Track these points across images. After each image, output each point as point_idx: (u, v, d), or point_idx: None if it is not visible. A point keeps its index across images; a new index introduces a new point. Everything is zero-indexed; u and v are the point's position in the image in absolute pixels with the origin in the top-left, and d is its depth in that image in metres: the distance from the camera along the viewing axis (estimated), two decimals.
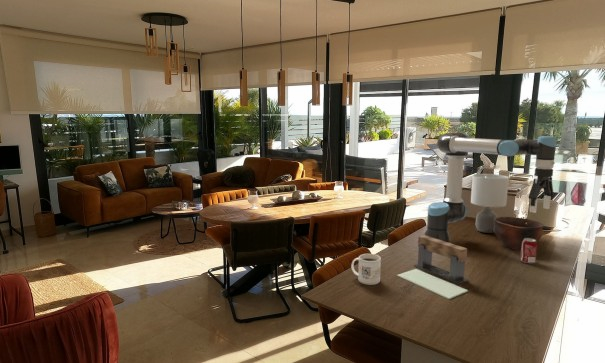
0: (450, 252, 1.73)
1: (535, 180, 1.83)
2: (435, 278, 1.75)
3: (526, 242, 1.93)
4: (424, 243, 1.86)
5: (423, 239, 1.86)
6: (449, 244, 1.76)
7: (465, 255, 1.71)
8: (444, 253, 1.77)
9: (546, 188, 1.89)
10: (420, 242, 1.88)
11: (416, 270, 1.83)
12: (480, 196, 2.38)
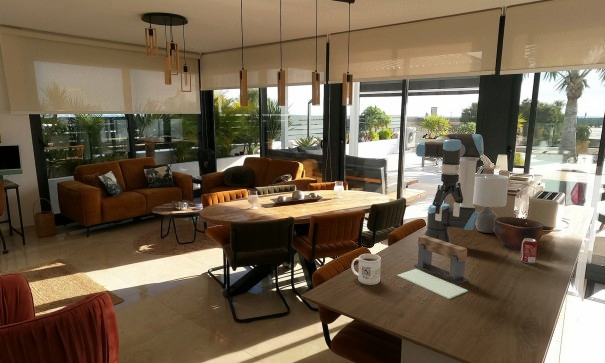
0: (450, 252, 1.73)
1: (439, 186, 1.72)
2: (435, 278, 1.75)
3: (526, 242, 1.93)
4: (424, 243, 1.86)
5: (423, 239, 1.86)
6: (449, 244, 1.76)
7: (465, 255, 1.71)
8: (444, 253, 1.77)
9: (454, 194, 1.78)
10: (420, 242, 1.88)
11: (416, 270, 1.83)
12: (480, 196, 2.38)
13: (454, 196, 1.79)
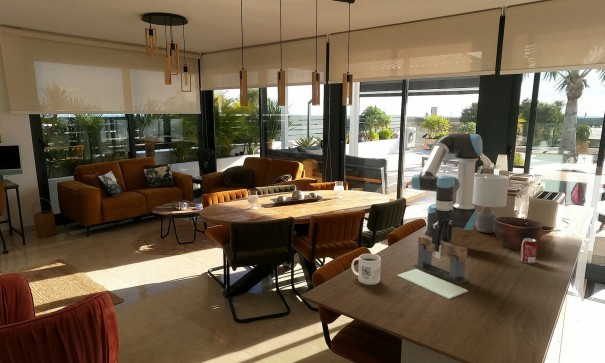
0: (450, 252, 1.74)
1: (433, 226, 1.75)
2: (435, 278, 1.75)
3: (526, 242, 1.93)
4: (424, 243, 1.86)
5: (423, 239, 1.86)
6: (449, 244, 1.76)
7: (465, 255, 1.71)
8: (444, 253, 1.77)
9: (445, 231, 1.79)
10: (420, 242, 1.88)
11: (416, 270, 1.83)
12: (480, 196, 2.38)
13: (444, 233, 1.80)
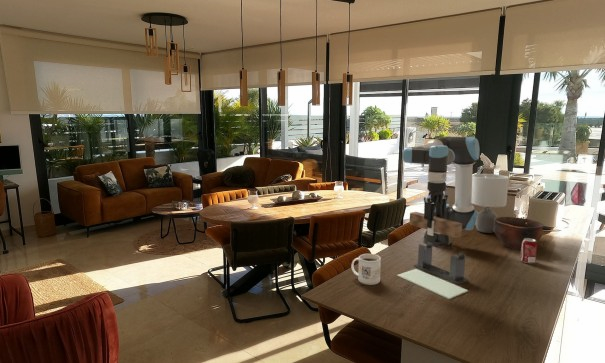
0: (444, 228, 1.60)
1: (425, 199, 1.61)
2: (435, 278, 1.75)
3: (526, 242, 1.93)
4: (416, 220, 1.72)
5: (415, 215, 1.72)
6: (443, 219, 1.62)
7: (460, 230, 1.57)
8: (437, 229, 1.63)
9: (438, 206, 1.66)
10: (412, 219, 1.74)
11: (416, 270, 1.83)
12: (480, 196, 2.38)
13: (437, 209, 1.66)
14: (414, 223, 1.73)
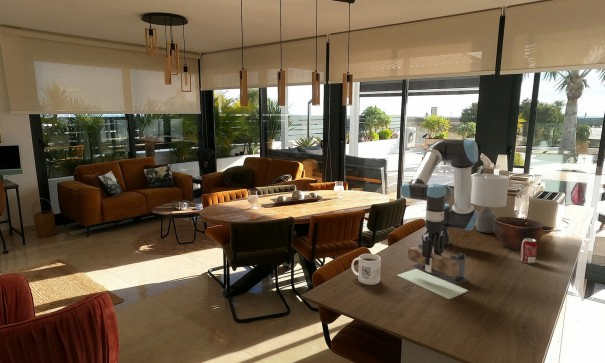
0: (442, 266, 1.63)
1: (423, 238, 1.64)
2: (435, 278, 1.75)
3: (526, 242, 1.93)
4: (414, 255, 1.75)
5: (413, 251, 1.75)
6: (440, 257, 1.65)
7: (457, 269, 1.60)
8: (434, 267, 1.66)
9: (436, 243, 1.68)
10: (410, 254, 1.77)
11: (416, 270, 1.83)
12: (480, 196, 2.38)
13: (435, 245, 1.69)
14: (412, 258, 1.76)
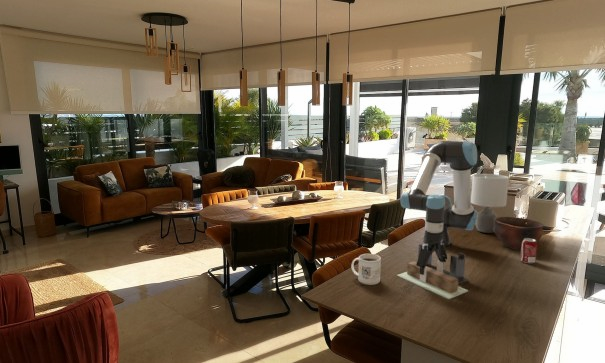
0: (441, 282, 1.64)
1: (422, 246, 1.64)
2: None
3: (526, 242, 1.93)
4: (413, 270, 1.76)
5: (413, 266, 1.76)
6: (439, 273, 1.67)
7: (456, 286, 1.61)
8: (433, 283, 1.67)
9: (438, 252, 1.70)
10: (409, 269, 1.78)
11: None
12: (480, 196, 2.38)
13: (438, 254, 1.71)
14: (412, 273, 1.77)
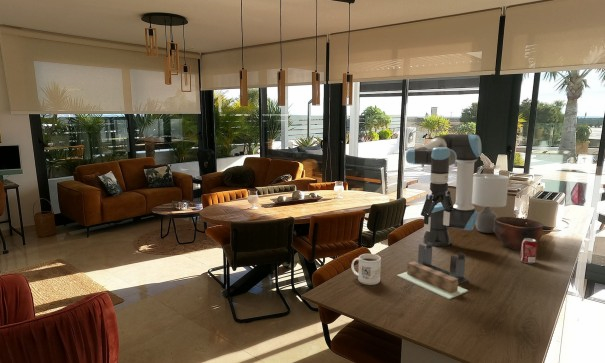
0: (441, 282, 1.64)
1: (428, 196, 1.67)
2: None
3: (526, 242, 1.93)
4: (413, 270, 1.76)
5: (413, 266, 1.76)
6: (439, 273, 1.67)
7: (456, 286, 1.61)
8: (433, 283, 1.67)
9: (444, 203, 1.73)
10: (409, 269, 1.78)
11: None
12: (480, 196, 2.38)
13: (444, 205, 1.74)
14: (412, 273, 1.77)
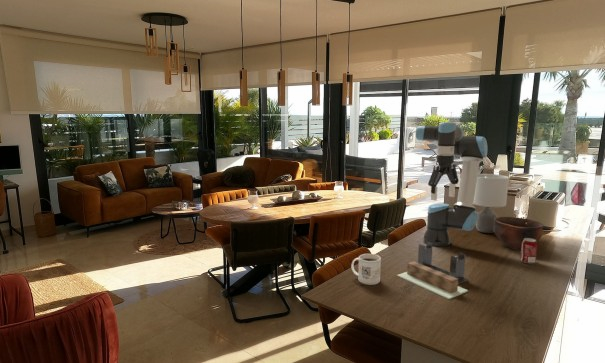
0: (441, 282, 1.64)
1: (435, 167, 1.79)
2: None
3: (526, 242, 1.93)
4: (413, 270, 1.76)
5: (413, 266, 1.76)
6: (439, 273, 1.67)
7: (456, 286, 1.61)
8: (433, 283, 1.67)
9: (449, 175, 1.85)
10: (409, 269, 1.78)
11: None
12: (480, 196, 2.38)
13: (449, 177, 1.86)
14: (412, 273, 1.77)
